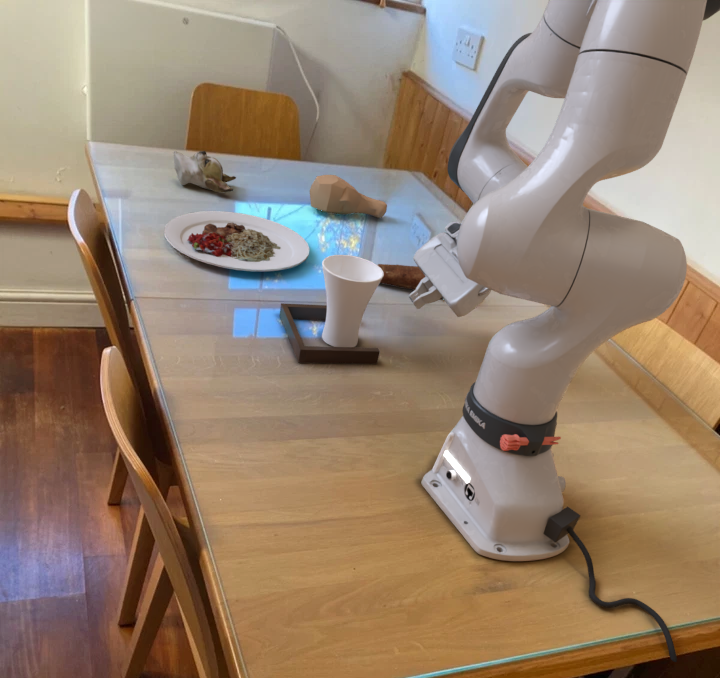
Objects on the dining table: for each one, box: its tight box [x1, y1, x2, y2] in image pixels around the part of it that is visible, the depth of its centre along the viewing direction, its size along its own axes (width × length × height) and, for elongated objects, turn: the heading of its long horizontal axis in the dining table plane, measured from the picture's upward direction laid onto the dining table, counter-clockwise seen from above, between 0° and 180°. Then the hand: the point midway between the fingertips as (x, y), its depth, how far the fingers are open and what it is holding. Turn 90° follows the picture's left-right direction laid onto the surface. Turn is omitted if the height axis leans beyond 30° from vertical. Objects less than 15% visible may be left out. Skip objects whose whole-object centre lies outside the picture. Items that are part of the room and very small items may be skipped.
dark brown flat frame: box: [279, 302, 381, 365], centre depth 123 cm, size 16×14×2 cm
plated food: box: [164, 210, 310, 272], centre depth 147 cm, size 30×30×3 cm
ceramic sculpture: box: [173, 150, 237, 193], centre depth 169 cm, size 11×9×15 cm
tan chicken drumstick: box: [309, 174, 388, 219], centre depth 174 cm, size 11×20×9 cm, turn 104°
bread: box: [377, 263, 428, 292], centre depth 147 cm, size 6×19×6 cm, turn 88°
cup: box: [321, 254, 384, 347], centre depth 121 cm, size 10×10×14 cm
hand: (412, 302), depth 124 cm, fingers closed
